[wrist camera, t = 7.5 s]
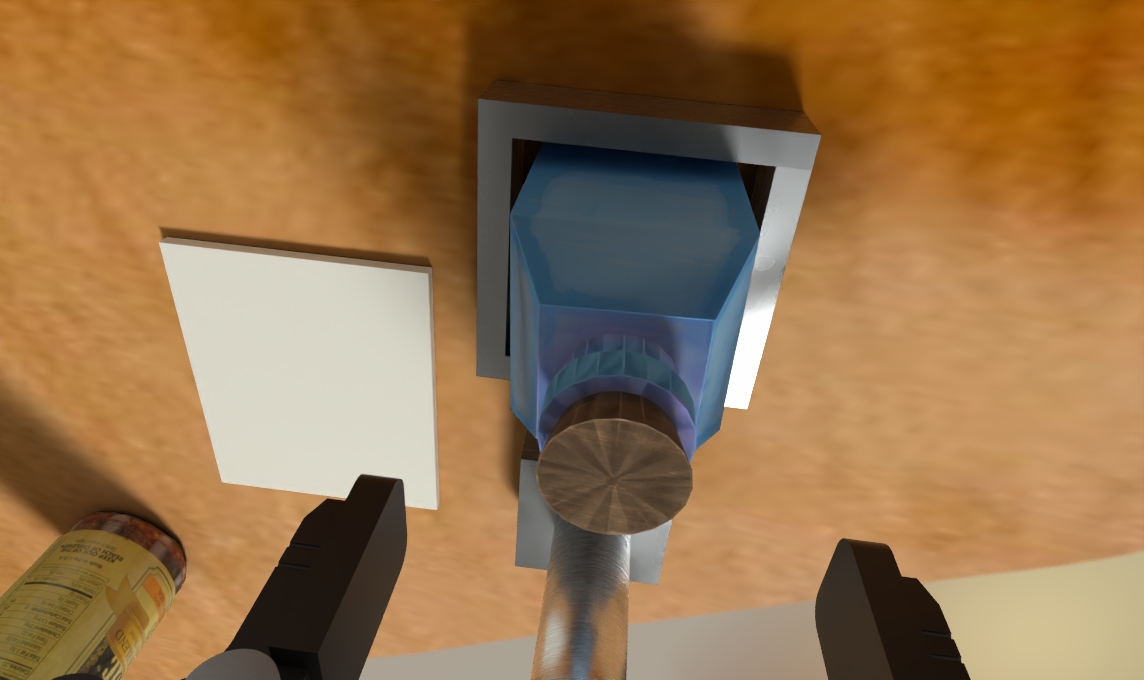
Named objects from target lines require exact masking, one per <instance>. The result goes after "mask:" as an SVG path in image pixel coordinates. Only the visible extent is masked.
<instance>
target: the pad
mask: <svg viewBox="0 0 1144 680" xmlns="http://www.w3.org/2000/svg"><path fill="white" fill-rule="evenodd" d="M159 245H160V249H161V252H162V256H163V260H164V264H165V268H166V271H167V275H168V279H169V283H170V287H171V290H172V294H173V298H174V302H175V306H176V309H177V313H178V317H179V321H180V324H181V328H182V332H183V336H184V340H185V343H186V347H187V351H188V355H189V359H190V362H191V366H192V370H193V374H194V378H195V381H196V385H197V389H198V393H199V396H200V400H201V404H202V408H203V412H204V415H205V419H206V423H207V427H208V431H209V434H210V438H211V442H212V446H213V450H214V453H215V457H216V461H217V465H218V469H219V472H220V476H221V480H222V482H224V483H232V484H240V485H248V486H255V487H263V488H271V489H279V490H286V491H294V492H302V493H309V494H317V495H325V496H333V497H340V498H347V496H348V495H349V493H350V491H351V489H352V487H353V485H354V483H355V481H356V480H357V478H358V477H359V476H360V475H361V474H368V475H376V476H383V477H391V478H398V479H402V480H403V483H404V494H405V506H410V507H418V508H426V509H433V510H437V508H438V505H439V503H440V494H439V464H438V434H437V404H436V374H435V344H434V314H433V283H432V267H423V266H415V265H406V264H397V263H389V262H380V261H371V260H363V259H354V258H345V257H337V256H328V255H319V254H311V253H302V252H293V251H285V250H276V249H267V248H259V247H250V246H242V245H233V244H224V243H216V242H207V241H198V240H190V239H181V238H172V237H166V238H165V239H163V240H162V241H160V242H159Z"/></svg>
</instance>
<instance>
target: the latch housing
mask: <svg viewBox="0 0 1144 680" xmlns="http://www.w3.org/2000/svg"><path fill="white" fill-rule="evenodd" d="M820 138H821V134H820V133H819V131H818V130H817V129H816V127H815V126H814V125H813V123H812V122H811V121H810V119H809V118H808V117H807V115H806V114H805V113H804V112H796V111H787V110H777V109H768V108H758V107H748V106H739V105H729V104H720V103H710V102H701V101H691V100H681V99H672V98H662V97H653V96H643V95H634V94H624V93H614V92H605V91H595V90H586V89H576V88H567V87H557V86H547V85H538V84H528V83H519V82H509V81H500V80H494V82H493V83H492V84H491V85H490V86H489V87H488V88H487V89H486V91H485V92H484V93H483V94H482V95H481V96H480V97H479V98H478V198H477V368H476V376H480V377H489V378H497V379H505V380H510V214H511V211H512V209H513V207H514V205H515V203H516V200H517V198H518V196H519V194H520V192H521V189H522V182H523V159H524V139H526V140H535V141H544V142H553V143H563V144H572V145H581V146H591V147H600V148H609V149H618V150H628V151H637V152H646V153H656V154H665V155H674V156H683V157H693V158H702V159H711V160H721V161H730V162H739V163H748V164H758V165H759V166H758V171H757V175H756V179H755V184H754V188H753V192H752V197H751V201H750V205H751V208H752V211H753V214H754V217H755V220H756V223H757V226H758V229H759V232H760V238H759V243H758V248H757V252H756V257H755V262H754V267H753V272H752V276H751V281H750V286H749V291H748V296H747V300H746V305H745V310H744V315H743V320H742V324H741V329H740V334H739V339H738V344H737V348H736V353H735V358H734V363H733V367H732V372H731V377H730V382H729V387H728V391H727V396H726V401H725V406H727V407H736V408H744V409H747V406H748V403H749V399H750V395H751V392H752V388H753V384H754V381H755V377H756V373H757V370H758V366H759V362H760V359H761V355H762V351H763V348H764V344H765V340H766V337H767V333H768V329H769V326H770V322H771V318H772V315H773V311H774V307H775V304H776V300H777V296H778V292H779V289H780V285H781V281H782V278H783V274H784V270H785V267H786V263H787V259H788V256H789V252H790V248H791V245H792V241H793V237H794V234H795V230H796V226H797V223H798V219H799V215H800V212H801V208H802V204H803V201H804V197H805V193H806V190H807V186H808V182H809V179H810V175H811V171H812V168H813V164H814V160H815V157H816V153H817V149H818V146H819V142H820ZM540 453H541V452H540V449H539V443H538V439H536V438H535V437H534V436H533V435H532V433H531V432H530V431H529V430H527V435H526V439H525V443H524V447H523V452H522V456H521V464H520V483H519V502H518V521H517V541H516V560H515V566H520V567H527V568H535V569H542V570H548V564H549V558H550V551H551V545H552V538H553V532H554V526H555V522H556V519H557V518H558V516H559V515H558V514H557V513H556V512H555V511H553V510H552V509H551V508H550V507H549V506H548V505H547V503H546V501H545V500H544V498H543V496H542V495H541V493H540V492H539V490H538V484H537V479H536V473H535V471H536V467H537V463H538V459H539V455H540ZM671 522H672V520H670V521H668V522H666V523H664V524H662V525H660V526H659V527H657V528H655V529H653V530H649V531H644V532H640V533H636V534H632V535H631V543H630V575H629V581H633V582H641V583H649V584H656V585H658V581H659V576H660V572H661V567H662V563H663V558H664V554H665V549H666V545H667V540H668V536H669V531H670V527H671Z"/></svg>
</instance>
